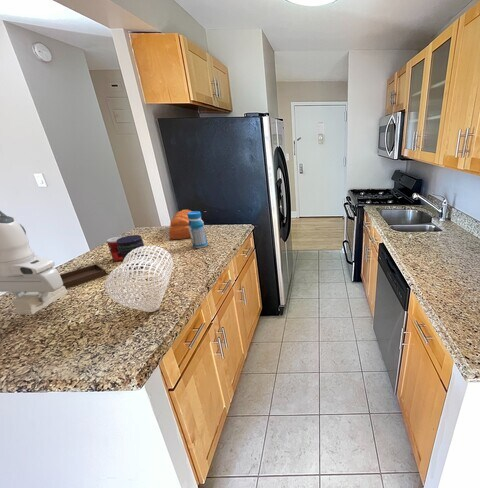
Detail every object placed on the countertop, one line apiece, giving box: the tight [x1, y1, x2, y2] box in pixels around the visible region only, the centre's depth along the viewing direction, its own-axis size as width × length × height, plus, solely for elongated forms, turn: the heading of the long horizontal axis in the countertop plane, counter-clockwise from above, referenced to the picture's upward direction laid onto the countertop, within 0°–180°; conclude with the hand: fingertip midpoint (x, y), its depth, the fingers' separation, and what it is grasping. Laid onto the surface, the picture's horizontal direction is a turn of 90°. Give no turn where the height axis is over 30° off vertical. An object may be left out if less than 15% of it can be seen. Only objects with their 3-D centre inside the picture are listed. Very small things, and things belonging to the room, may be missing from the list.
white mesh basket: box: [104, 245, 174, 313], centre depth 91 cm, size 28×16×22 cm, turn 18°
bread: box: [168, 209, 193, 240], centre depth 173 cm, size 16×31×13 cm, turn 19°
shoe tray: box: [60, 263, 108, 289], centre depth 114 cm, size 21×11×3 cm, turn 146°
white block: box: [11, 286, 69, 315], centre depth 91 cm, size 13×6×5 cm, turn 1°
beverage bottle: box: [187, 210, 209, 249], centre depth 148 cm, size 8×8×20 cm
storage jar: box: [116, 234, 150, 271], centre depth 124 cm, size 10×10×15 cm
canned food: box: [106, 235, 124, 262], centre depth 134 cm, size 8×8×11 cm
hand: (35, 301), depth 89 cm, fingers closed on white block, 5 cm apart
